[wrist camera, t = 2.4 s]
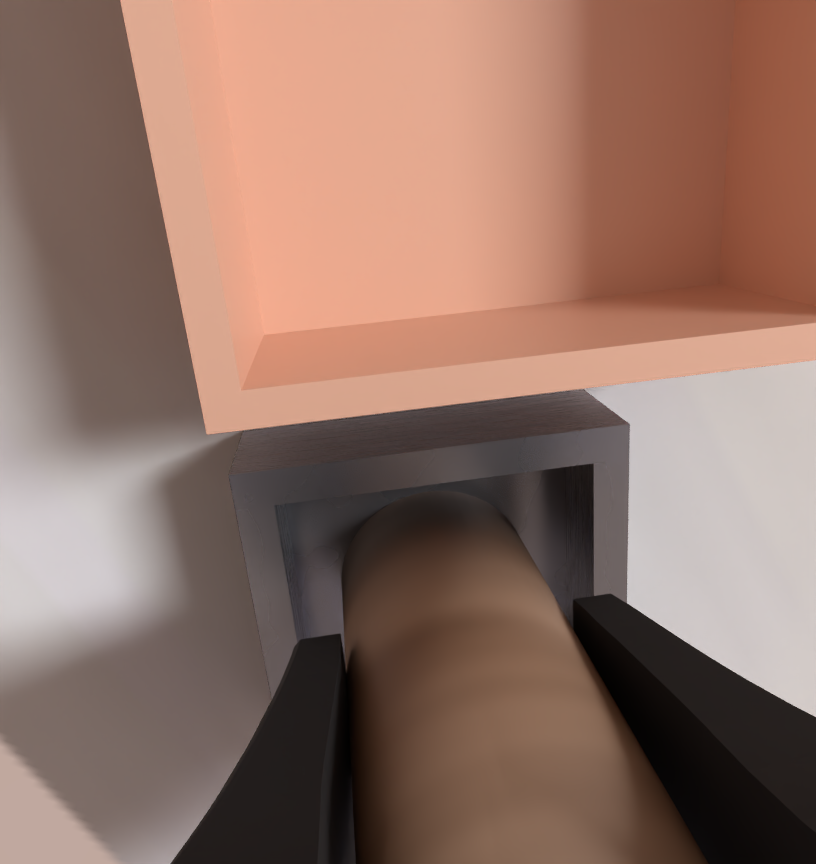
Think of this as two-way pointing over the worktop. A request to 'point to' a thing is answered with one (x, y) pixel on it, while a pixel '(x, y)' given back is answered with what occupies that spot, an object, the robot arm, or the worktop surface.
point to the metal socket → (422, 472)
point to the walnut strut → (484, 706)
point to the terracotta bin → (478, 195)
